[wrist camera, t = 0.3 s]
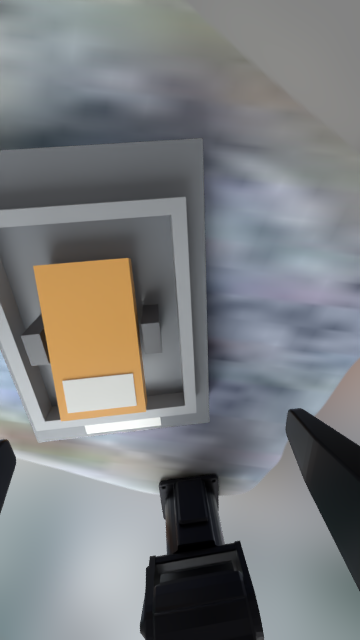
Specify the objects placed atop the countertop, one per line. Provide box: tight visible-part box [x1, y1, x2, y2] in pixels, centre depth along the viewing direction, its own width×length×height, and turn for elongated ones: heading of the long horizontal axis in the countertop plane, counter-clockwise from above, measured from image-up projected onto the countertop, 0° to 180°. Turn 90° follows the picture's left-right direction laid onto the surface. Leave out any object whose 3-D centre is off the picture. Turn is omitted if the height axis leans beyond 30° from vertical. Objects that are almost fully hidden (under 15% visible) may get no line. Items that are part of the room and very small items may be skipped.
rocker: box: [33, 258, 147, 421], centre depth 16 cm, size 9×5×2 cm, turn 3°
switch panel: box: [0, 138, 209, 442], centre depth 18 cm, size 20×14×6 cm
